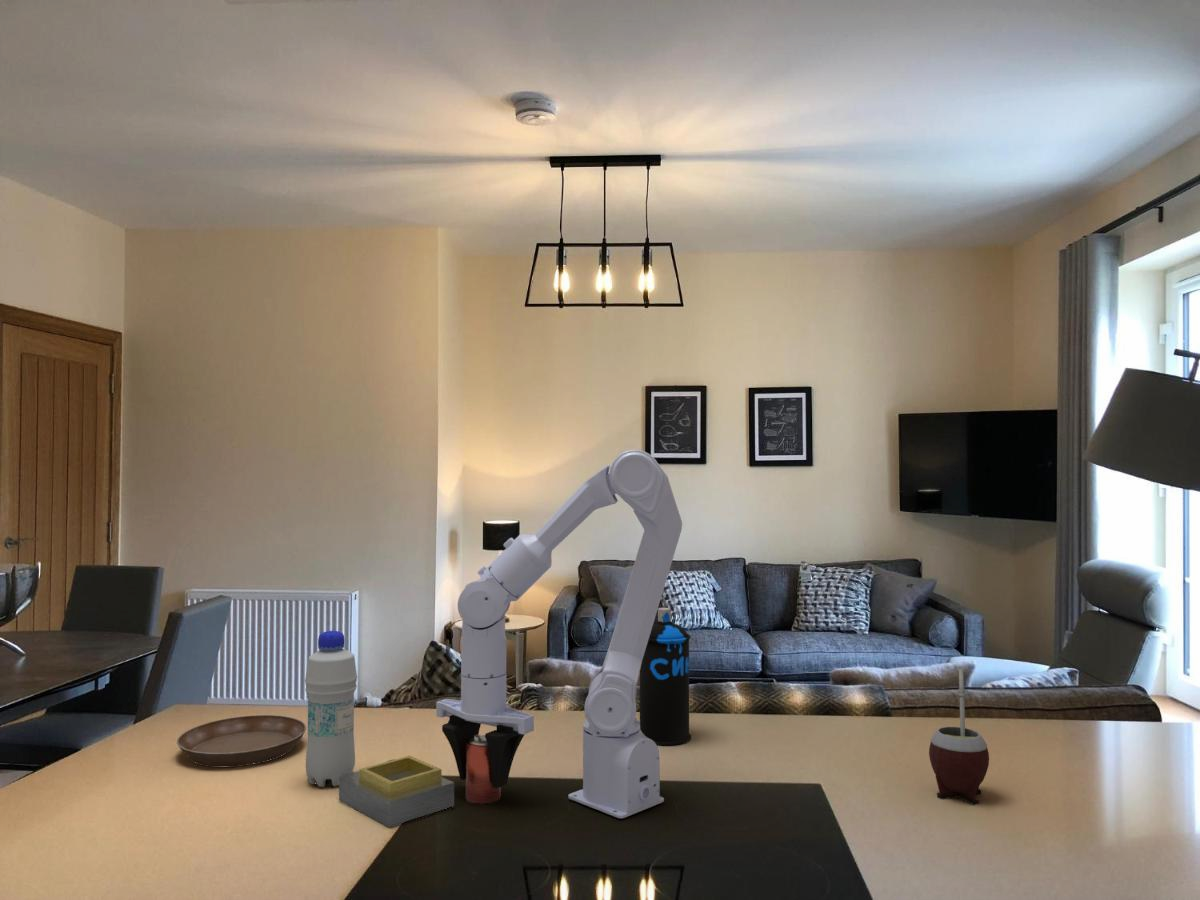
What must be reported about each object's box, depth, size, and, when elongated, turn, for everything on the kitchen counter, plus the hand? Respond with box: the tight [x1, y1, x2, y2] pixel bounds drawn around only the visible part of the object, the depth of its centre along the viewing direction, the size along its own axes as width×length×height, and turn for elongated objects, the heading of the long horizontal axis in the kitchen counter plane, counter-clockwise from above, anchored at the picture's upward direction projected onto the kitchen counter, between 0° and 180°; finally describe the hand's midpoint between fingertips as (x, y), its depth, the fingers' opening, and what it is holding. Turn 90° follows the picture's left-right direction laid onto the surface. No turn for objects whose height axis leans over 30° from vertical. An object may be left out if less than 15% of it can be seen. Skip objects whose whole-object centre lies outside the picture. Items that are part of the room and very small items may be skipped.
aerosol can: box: [639, 607, 692, 747], centre depth 135 cm, size 8×8×20 cm
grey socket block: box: [338, 755, 455, 829], centre depth 108 cm, size 14×9×4 cm, turn 45°
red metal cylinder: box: [465, 734, 502, 805], centre depth 110 cm, size 4×4×8 cm
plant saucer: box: [176, 714, 307, 767], centre depth 128 cm, size 18×18×3 cm
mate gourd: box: [928, 668, 990, 806], centre depth 111 cm, size 8×8×15 cm
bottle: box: [304, 630, 358, 788], centre depth 116 cm, size 7×7×20 cm
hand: (483, 781), depth 110 cm, fingers open, 5 cm apart
